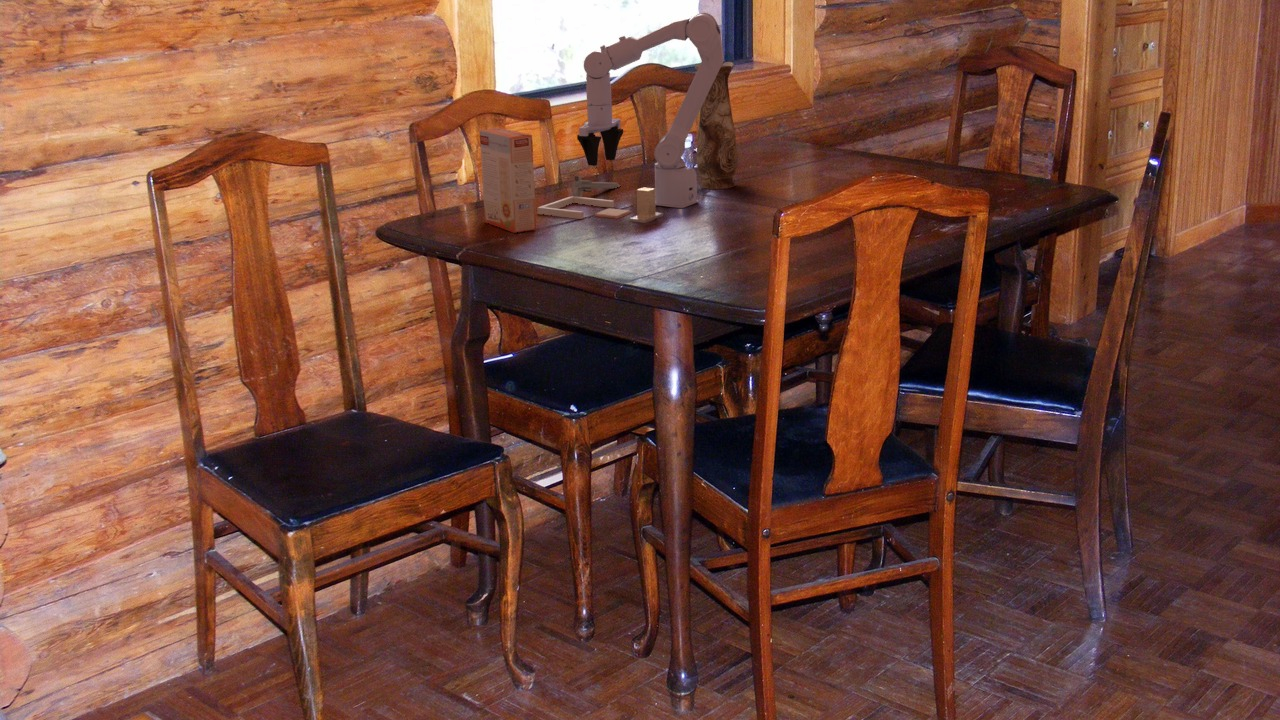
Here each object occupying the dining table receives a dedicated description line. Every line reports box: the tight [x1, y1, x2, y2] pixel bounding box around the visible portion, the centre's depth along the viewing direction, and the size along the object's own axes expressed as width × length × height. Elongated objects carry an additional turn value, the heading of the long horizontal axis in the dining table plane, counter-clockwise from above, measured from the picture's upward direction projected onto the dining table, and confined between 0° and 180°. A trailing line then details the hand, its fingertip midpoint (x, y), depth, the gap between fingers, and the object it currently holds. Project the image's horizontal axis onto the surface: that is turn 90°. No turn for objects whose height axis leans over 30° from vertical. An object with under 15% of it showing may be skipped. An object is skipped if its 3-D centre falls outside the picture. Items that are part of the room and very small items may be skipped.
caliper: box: [571, 175, 621, 197], centre depth 311 cm, size 20×1×6 cm, turn 149°
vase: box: [694, 61, 739, 190], centre depth 313 cm, size 10×11×30 cm
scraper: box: [629, 186, 664, 224], centre depth 284 cm, size 4×8×7 cm, turn 149°
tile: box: [594, 207, 632, 220], centre depth 289 cm, size 6×6×1 cm
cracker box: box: [479, 127, 537, 234], centre depth 277 cm, size 14×6×21 cm, turn 34°
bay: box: [536, 195, 615, 220], centre depth 294 cm, size 12×14×2 cm
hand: (601, 162), depth 298 cm, fingers open, 7 cm apart
